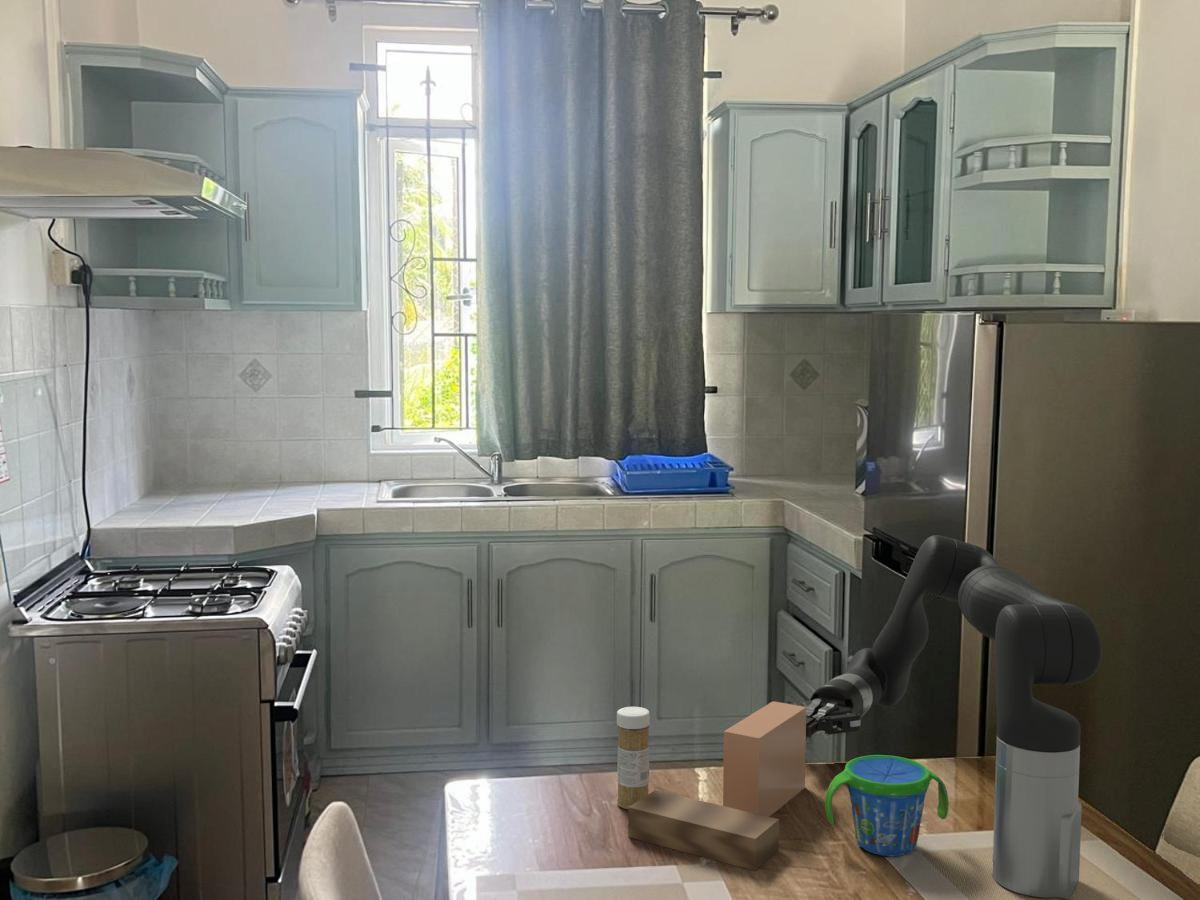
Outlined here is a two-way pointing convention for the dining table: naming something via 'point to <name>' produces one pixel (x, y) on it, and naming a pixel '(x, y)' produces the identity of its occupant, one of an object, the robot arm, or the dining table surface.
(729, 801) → the block
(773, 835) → the brown wooden bar
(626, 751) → the sprinkles bottle
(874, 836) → the snack cup
